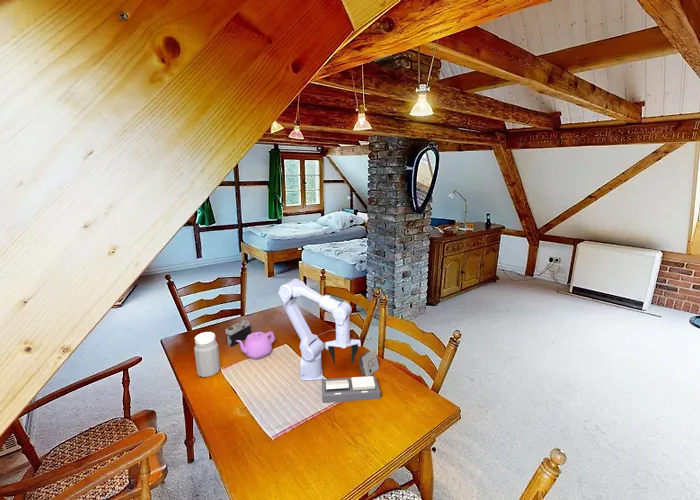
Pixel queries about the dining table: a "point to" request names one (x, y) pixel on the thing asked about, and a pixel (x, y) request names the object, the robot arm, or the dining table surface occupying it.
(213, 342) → the jar
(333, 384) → the left paddle
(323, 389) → the switch box
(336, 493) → the dining table surface
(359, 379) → the right paddle
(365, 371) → the electrical switch
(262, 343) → the teapot
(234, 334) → the camera
